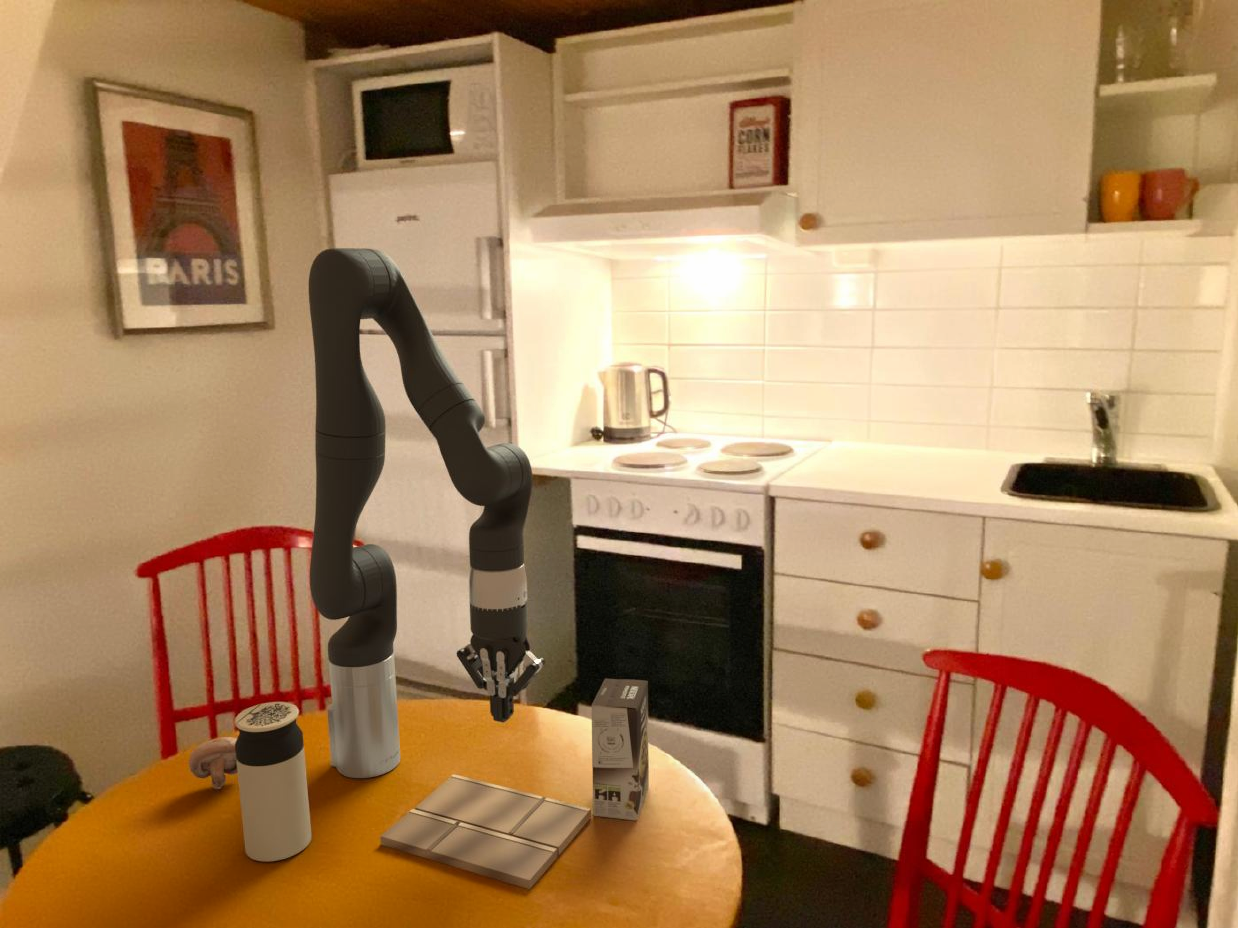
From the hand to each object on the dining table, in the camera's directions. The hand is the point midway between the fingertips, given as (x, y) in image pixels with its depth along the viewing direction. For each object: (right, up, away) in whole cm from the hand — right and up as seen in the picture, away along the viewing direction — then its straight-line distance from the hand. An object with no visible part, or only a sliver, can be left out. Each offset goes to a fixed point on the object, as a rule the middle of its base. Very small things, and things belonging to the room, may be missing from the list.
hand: (502, 719), depth 124 cm
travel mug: (-28, -15, -6) cm, 32 cm away
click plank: (0, -13, 0) cm, 13 cm away
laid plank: (-3, -14, -8) cm, 17 cm away
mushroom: (-41, -12, +8) cm, 44 cm away
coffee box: (+16, -12, +3) cm, 20 cm away
